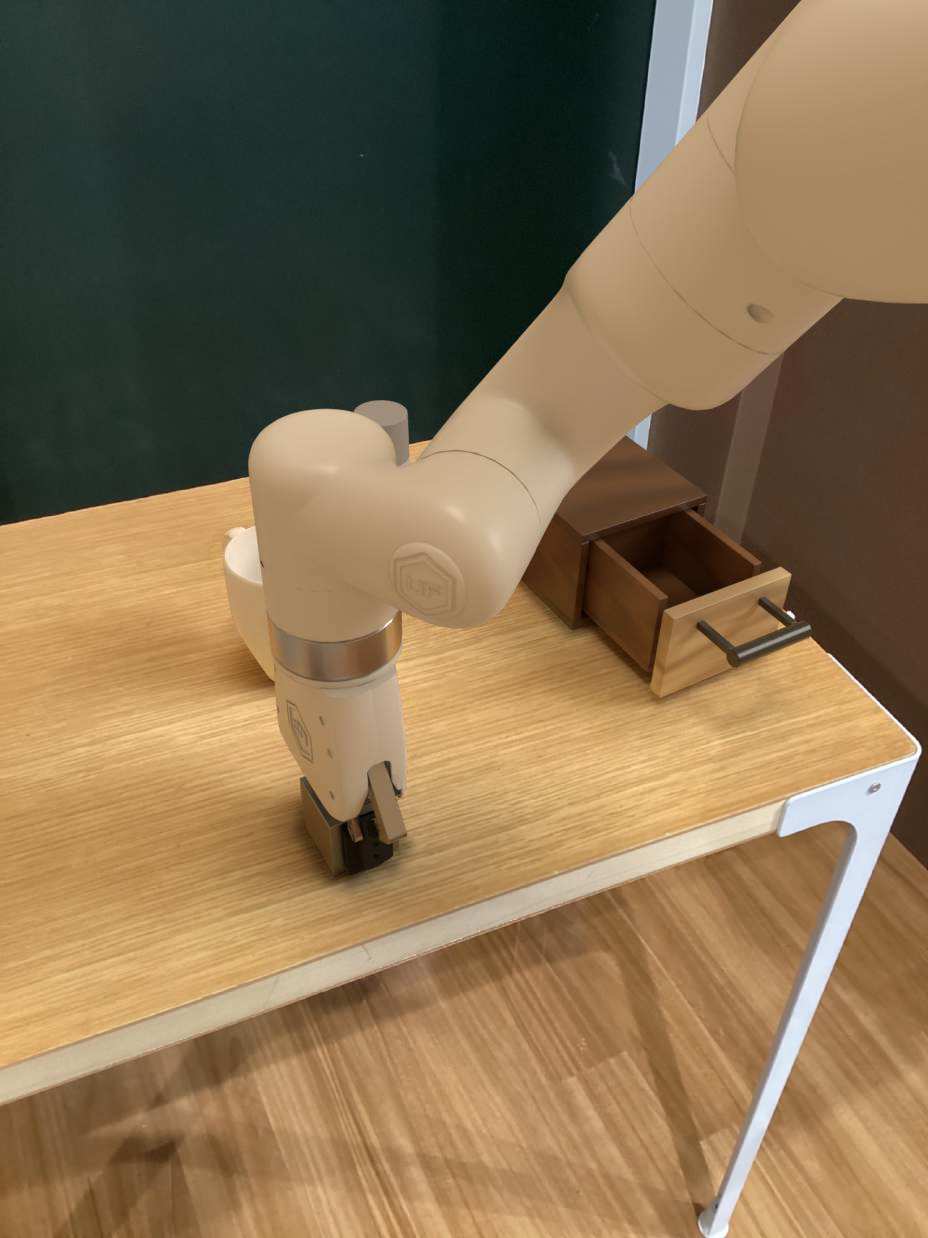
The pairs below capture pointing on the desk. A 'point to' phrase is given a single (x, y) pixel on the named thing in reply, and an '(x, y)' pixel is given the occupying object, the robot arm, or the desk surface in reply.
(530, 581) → the cabinet
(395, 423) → the container
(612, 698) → the desk surface
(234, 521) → the desk surface
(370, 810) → the block
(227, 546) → the mug
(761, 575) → the drawer
